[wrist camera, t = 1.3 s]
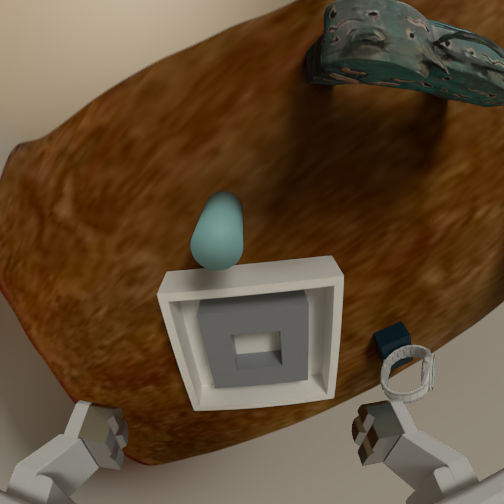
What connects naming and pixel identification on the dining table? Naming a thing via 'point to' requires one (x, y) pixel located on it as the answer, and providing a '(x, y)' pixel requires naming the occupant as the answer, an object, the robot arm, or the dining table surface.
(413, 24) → the ceramic cat
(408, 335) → the watch
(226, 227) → the peg
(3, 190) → the dining table surface
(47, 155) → the dining table surface
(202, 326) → the open box
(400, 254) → the dining table surface
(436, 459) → the robot arm
